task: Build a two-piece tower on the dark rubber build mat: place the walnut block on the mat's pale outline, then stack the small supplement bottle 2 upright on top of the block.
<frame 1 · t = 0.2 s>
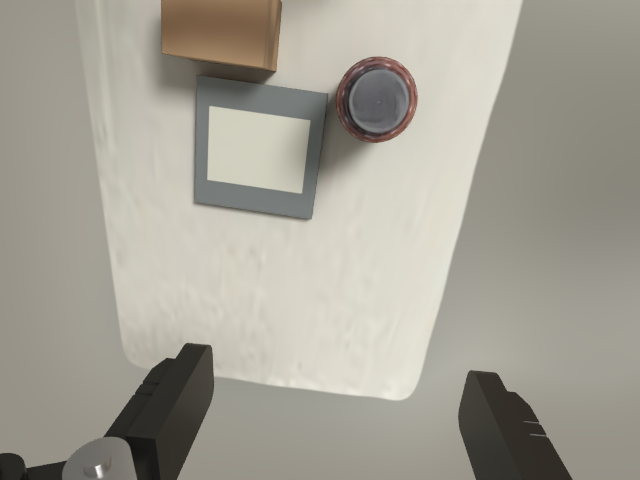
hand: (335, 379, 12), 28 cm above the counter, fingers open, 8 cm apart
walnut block: (235, 32, 35), on the counter
build mat: (259, 149, 38), on the counter
supplement bottle 2: (370, 99, 36), on the counter
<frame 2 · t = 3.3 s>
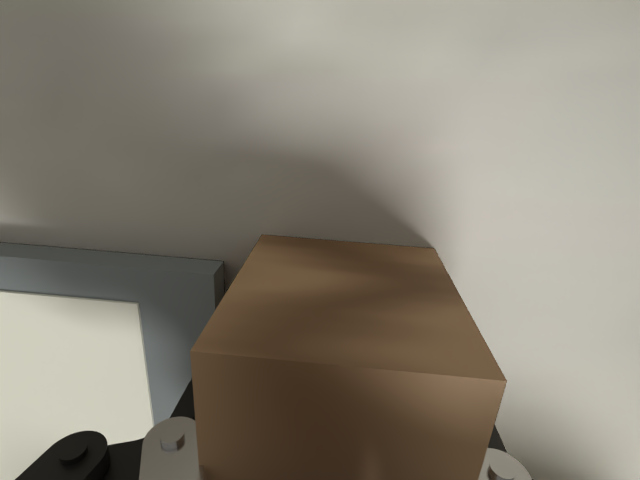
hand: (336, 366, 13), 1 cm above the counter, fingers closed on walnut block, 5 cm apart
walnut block: (337, 346, 14), on the counter, touching gripper
build mat: (78, 387, 15), on the counter
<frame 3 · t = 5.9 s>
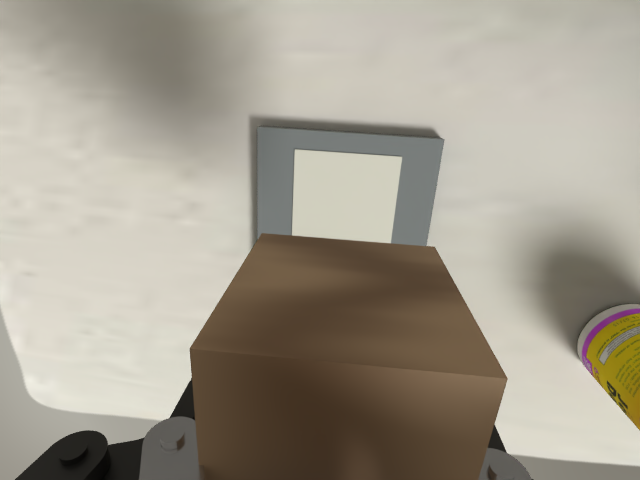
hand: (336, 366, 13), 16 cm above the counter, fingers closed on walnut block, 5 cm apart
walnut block: (337, 344, 14), point 15 cm above the counter, touching gripper
build mat: (342, 217, 28), on the counter
supplement bottle: (617, 336, 30), on the counter
when the fingers open (3 cm above the counter, at t = 8.6 s): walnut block stays where it is, resting on build mat.
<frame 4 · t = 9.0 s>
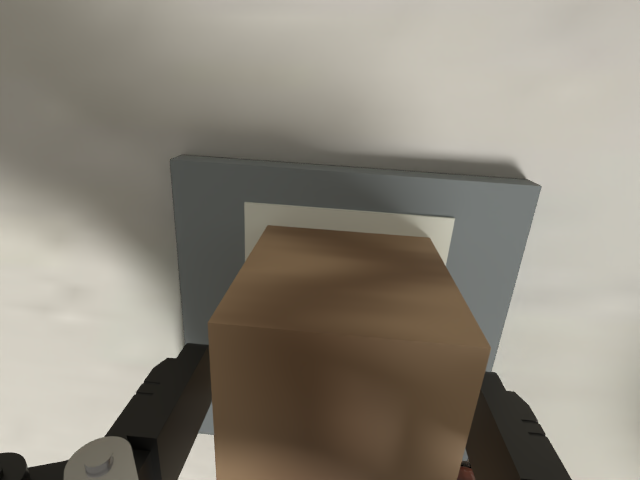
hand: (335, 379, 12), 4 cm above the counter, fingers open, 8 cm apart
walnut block: (339, 331, 14), point 1 cm above the counter, touching build mat
build mat: (338, 315, 16), on the counter
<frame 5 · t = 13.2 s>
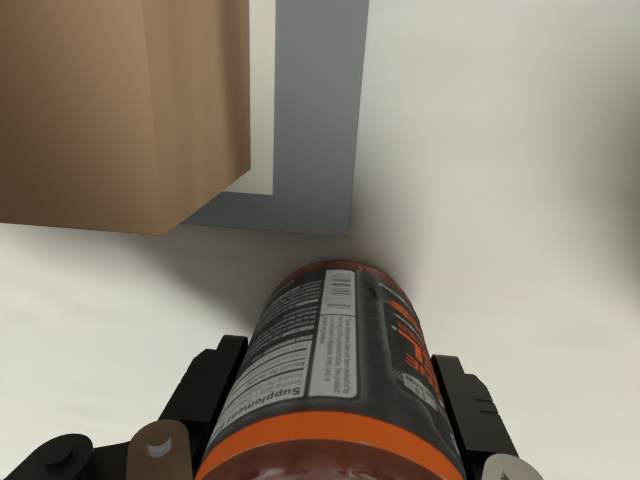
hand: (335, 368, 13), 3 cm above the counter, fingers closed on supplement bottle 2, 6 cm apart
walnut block: (151, 17, 11), point 1 cm above the counter, touching build mat
build mat: (167, 25, 12), on the counter
supplement bottle 2: (339, 320, 15), on the counter, touching gripper
when the fingers open (11 cm above the counter, at t = 18.6 s): supplement bottle 2 stays where it is, resting on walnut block.
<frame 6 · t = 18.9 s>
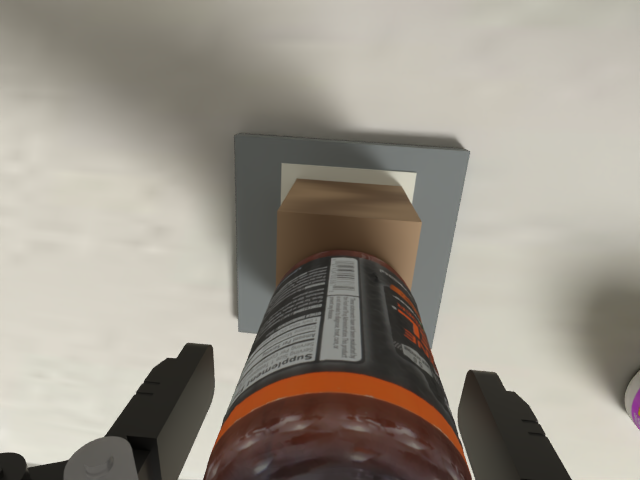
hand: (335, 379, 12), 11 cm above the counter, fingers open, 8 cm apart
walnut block: (342, 252, 22), point 1 cm above the counter, touching supplement bottle 2, build mat
build mat: (341, 245, 23), on the counter
supplement bottle 2: (342, 306, 16), point 7 cm above the counter, touching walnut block
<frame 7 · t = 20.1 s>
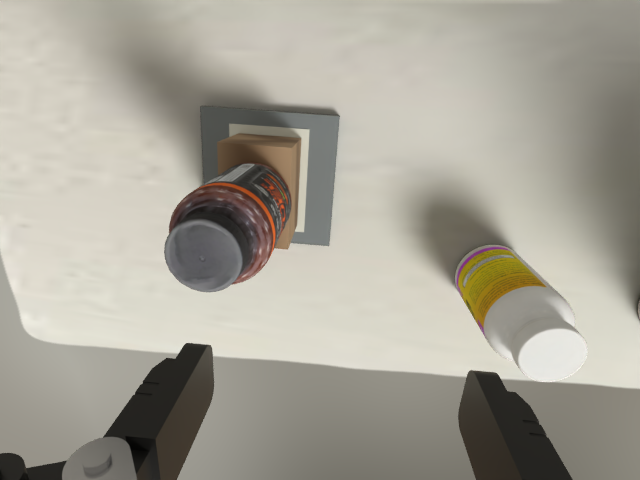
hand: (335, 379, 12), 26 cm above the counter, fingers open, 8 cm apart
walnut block: (269, 180, 35), point 1 cm above the counter, touching supplement bottle 2, build mat
build mat: (270, 177, 36), on the counter
supplement bottle: (486, 272, 39), on the counter
supplement bottle 2: (255, 198, 30), point 7 cm above the counter, touching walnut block
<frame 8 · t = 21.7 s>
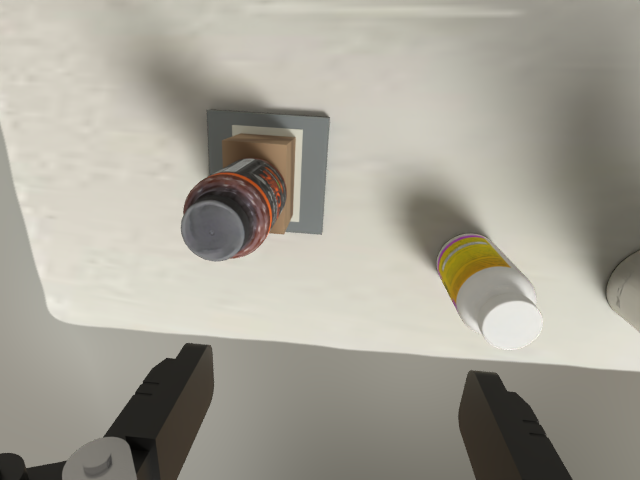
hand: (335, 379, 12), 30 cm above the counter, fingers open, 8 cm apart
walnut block: (267, 175, 39), point 1 cm above the counter, touching supplement bottle 2, build mat
build mat: (268, 173, 40), on the counter
supplement bottle: (465, 259, 43), on the counter
supplement bottle 2: (255, 189, 34), point 7 cm above the counter, touching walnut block
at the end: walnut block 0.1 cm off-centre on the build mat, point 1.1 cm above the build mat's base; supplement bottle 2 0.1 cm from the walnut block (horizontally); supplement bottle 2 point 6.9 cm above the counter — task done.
